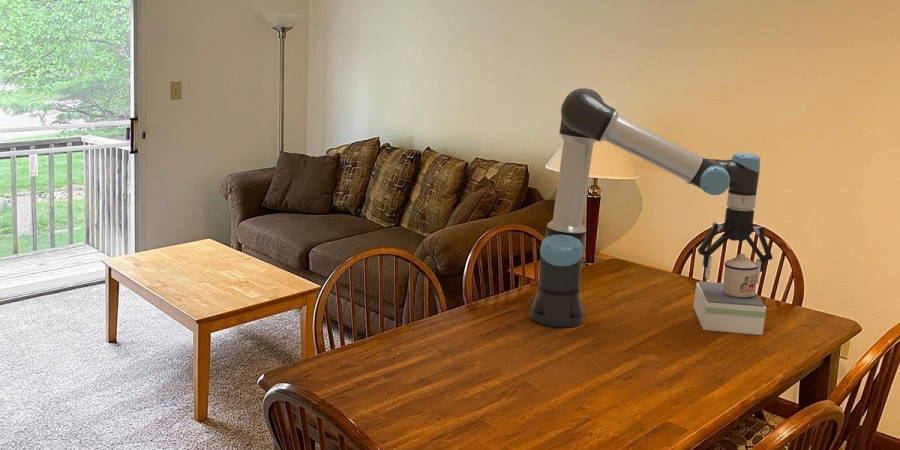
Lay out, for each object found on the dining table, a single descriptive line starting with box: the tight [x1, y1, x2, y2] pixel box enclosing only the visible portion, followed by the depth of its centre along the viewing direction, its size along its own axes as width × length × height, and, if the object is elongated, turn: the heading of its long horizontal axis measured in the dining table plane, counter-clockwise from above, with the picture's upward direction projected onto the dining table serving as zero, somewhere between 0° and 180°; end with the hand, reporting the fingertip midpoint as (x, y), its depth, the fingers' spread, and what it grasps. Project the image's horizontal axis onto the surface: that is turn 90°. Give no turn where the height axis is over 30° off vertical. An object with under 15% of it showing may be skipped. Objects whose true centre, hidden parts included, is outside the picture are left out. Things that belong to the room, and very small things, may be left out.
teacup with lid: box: [723, 253, 758, 298], centre depth 227 cm, size 12×9×12 cm
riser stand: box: [693, 280, 767, 336], centre depth 229 cm, size 16×20×9 cm
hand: (731, 280), depth 228 cm, fingers open, 13 cm apart
